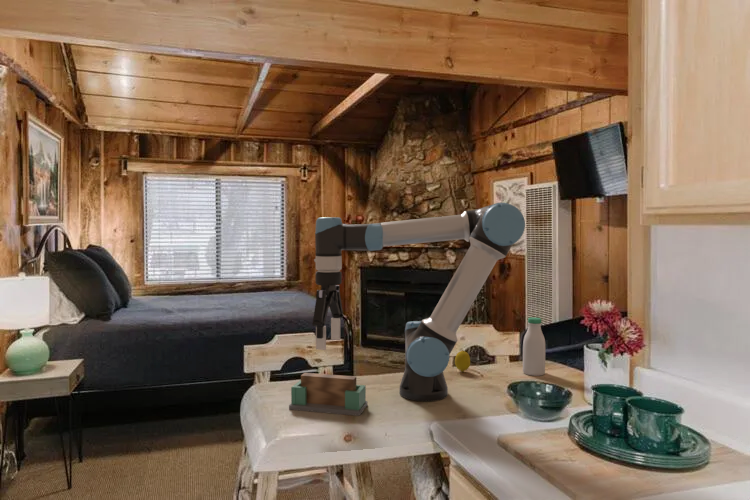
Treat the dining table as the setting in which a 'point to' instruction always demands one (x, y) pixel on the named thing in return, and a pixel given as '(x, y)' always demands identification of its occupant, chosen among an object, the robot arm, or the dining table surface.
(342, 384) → the slat
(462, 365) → the lemon
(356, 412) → the cradle
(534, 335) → the milk bottle
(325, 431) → the dining table surface
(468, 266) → the robot arm
